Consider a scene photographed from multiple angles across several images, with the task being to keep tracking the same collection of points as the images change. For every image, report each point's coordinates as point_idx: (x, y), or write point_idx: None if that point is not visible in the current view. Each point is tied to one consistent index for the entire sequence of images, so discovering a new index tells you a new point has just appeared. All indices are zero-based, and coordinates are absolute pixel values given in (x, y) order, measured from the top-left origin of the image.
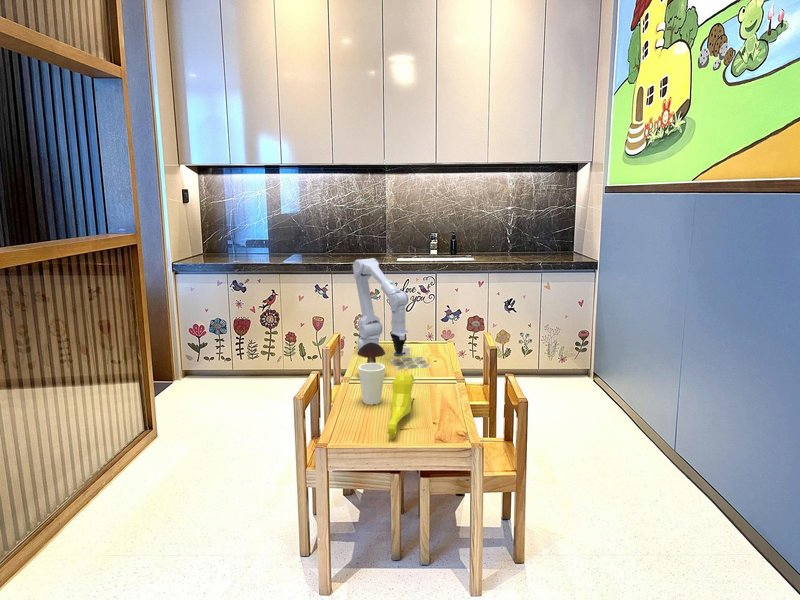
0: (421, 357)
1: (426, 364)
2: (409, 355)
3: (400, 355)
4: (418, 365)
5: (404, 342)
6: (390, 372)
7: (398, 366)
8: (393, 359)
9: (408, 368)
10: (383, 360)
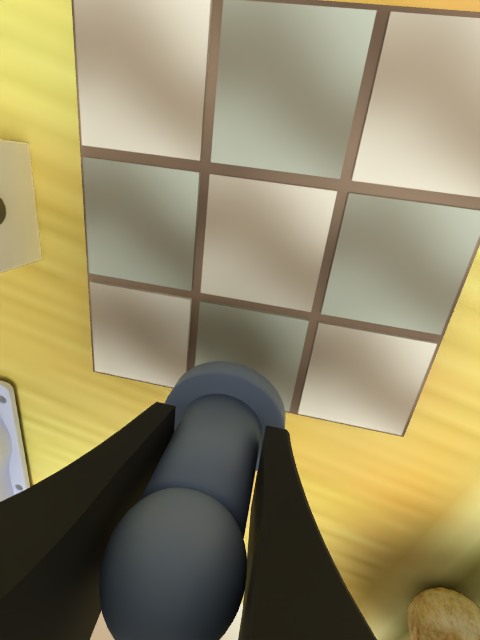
0: (94, 5)
1: (411, 53)
2: (5, 144)
3: (284, 421)
4: (393, 185)
5: (368, 629)
6: (370, 456)
7: (325, 391)
8: (110, 347)
9: (430, 332)
10: (67, 385)
